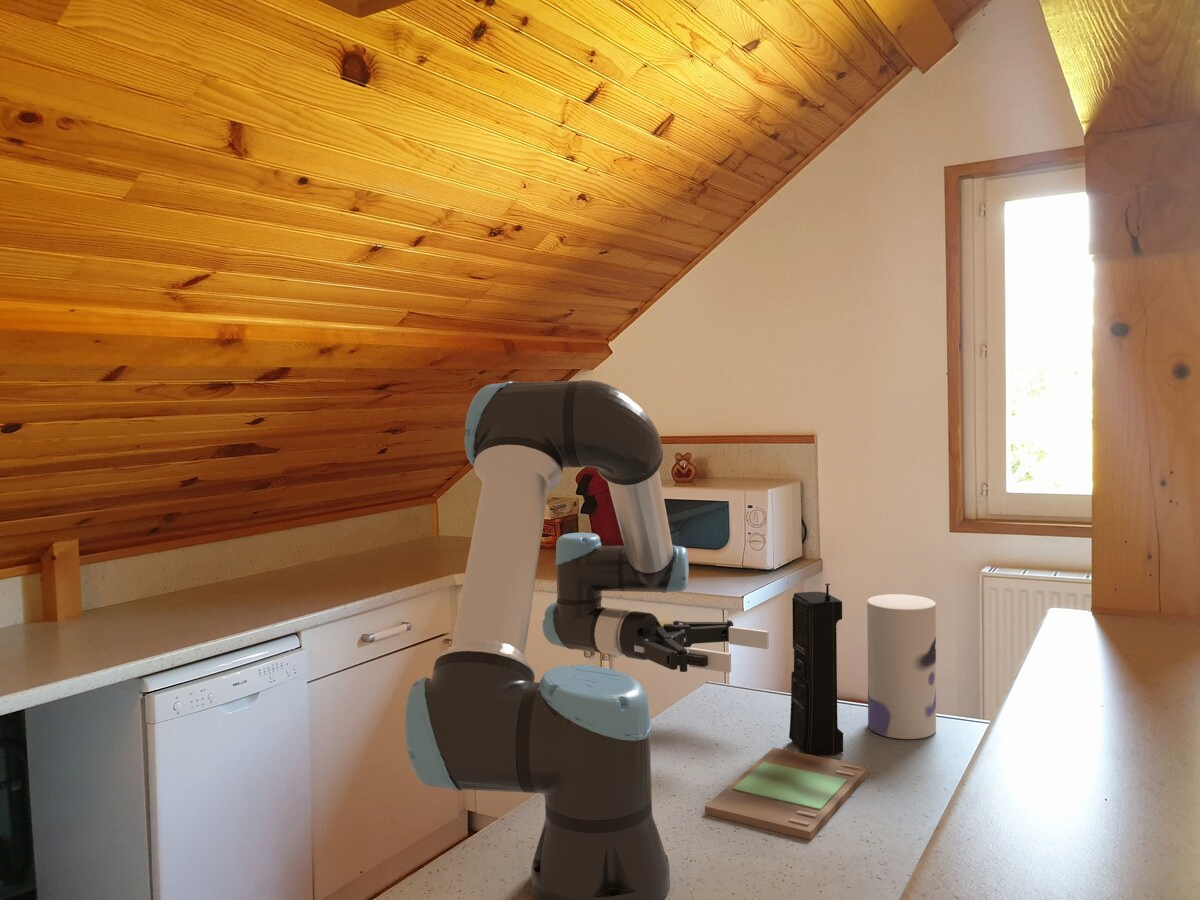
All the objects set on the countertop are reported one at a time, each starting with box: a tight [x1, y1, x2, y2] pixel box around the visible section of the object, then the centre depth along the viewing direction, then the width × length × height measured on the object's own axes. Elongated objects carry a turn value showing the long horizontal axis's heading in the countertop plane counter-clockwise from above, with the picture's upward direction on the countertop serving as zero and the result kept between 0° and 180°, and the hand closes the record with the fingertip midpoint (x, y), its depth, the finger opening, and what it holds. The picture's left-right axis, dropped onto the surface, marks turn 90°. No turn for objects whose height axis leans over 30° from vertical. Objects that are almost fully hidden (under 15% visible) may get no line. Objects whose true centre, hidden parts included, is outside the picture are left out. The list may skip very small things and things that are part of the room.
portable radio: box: [788, 583, 844, 757], centre depth 143 cm, size 8×6×25 cm
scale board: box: [704, 747, 870, 841], centre depth 128 cm, size 22×14×1 cm, turn 147°
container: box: [866, 593, 937, 740], centre depth 149 cm, size 10×10×20 cm
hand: (749, 651), depth 146 cm, fingers open, 13 cm apart
